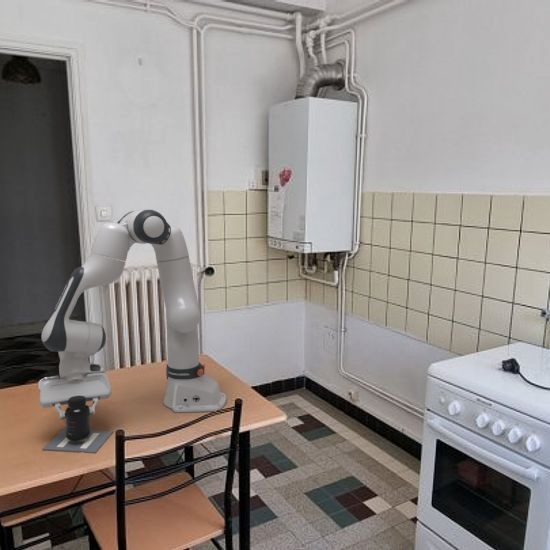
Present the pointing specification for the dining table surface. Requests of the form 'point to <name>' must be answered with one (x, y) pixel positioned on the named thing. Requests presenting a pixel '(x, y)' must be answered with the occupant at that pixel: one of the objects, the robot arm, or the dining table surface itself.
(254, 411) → the dining table surface
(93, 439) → the board
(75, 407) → the supplement bottle
